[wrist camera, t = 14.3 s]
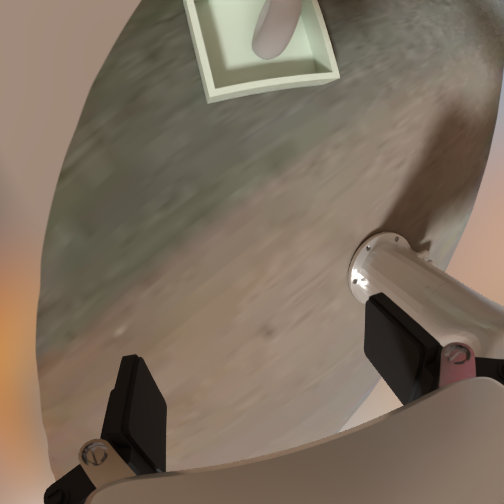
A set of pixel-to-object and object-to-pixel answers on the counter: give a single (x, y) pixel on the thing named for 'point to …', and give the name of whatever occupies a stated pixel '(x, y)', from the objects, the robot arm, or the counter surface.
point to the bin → (243, 57)
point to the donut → (275, 27)
